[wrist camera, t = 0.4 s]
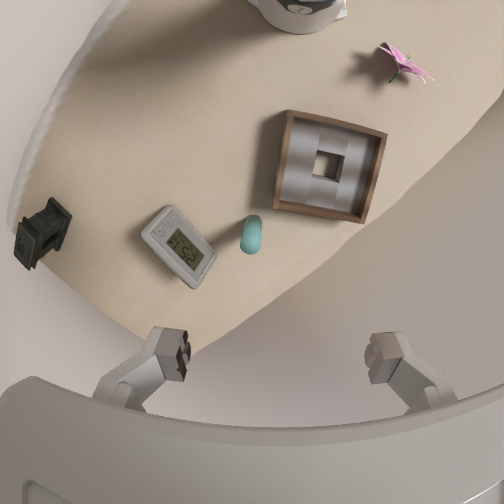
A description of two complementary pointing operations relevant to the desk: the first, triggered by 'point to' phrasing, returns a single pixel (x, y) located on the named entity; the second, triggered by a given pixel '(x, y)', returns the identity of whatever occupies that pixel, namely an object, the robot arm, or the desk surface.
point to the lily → (404, 64)
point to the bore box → (320, 187)
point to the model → (41, 233)
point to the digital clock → (179, 246)
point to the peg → (251, 235)
